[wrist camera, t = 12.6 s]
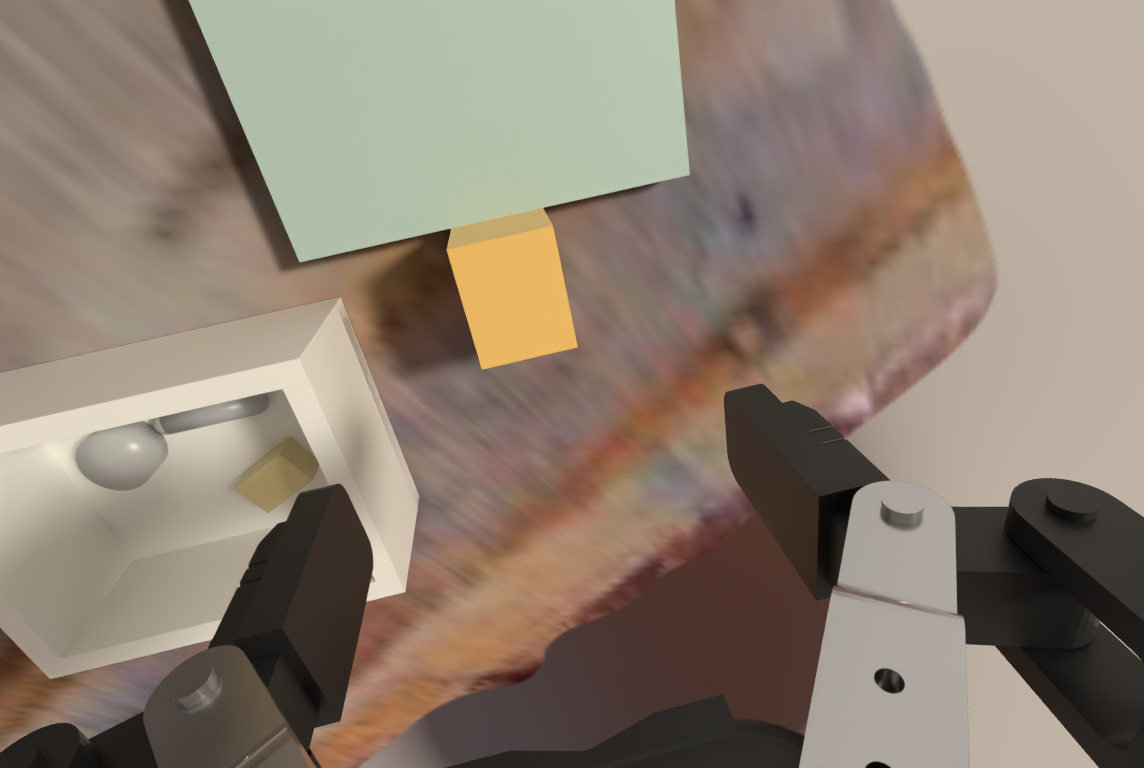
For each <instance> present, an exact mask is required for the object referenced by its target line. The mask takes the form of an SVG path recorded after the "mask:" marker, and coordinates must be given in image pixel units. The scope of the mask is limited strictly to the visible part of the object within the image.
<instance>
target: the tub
mask: <svg viewBox="0 0 1144 768" xmlns="http://www.w3.org/2000/svg"><path fill="white" fill-rule="evenodd" d="M338 483H339V484H341V485H342V486H343V487H344V488H345V489H346V491H347V493H348V495H349V497H350V499H351V502H352V504H353V506H354V508H355V510H356V512H357V514H358V517H359V519H360V521H361V523H362V525H363V527H364V529H365V531H366V534H367V536H368V538H369V540H370V543H371V547H372V552H373V572H372V577H371V582H370V586H369V591H368V595H367V600H366V601H370V600H374V599H378V598H383V597H387V596H391V595H395V594H399V593H403V592H405V589H406V583H407V576H408V569H409V563H410V556H411V549H412V543H413V536H414V529H415V523H416V516H417V509H418V503H419V494H418V492H417V489H416V487H415V484H414V482H413V479H412V477H411V474H410V472H409V469H408V467H407V464H406V462H405V459H404V456H403V454H402V451H401V449H400V446H399V444H398V441H397V439H396V436H395V434H394V431H393V429H392V426H391V424H390V421H389V419H388V416H387V413H386V411H385V408H384V406H383V403H382V401H381V398H380V396H379V393H378V391H377V388H376V386H375V383H374V381H373V378H372V376H371V373H370V370H369V368H368V365H367V363H366V360H365V358H364V355H363V353H362V350H361V348H360V345H359V343H358V340H357V338H356V335H355V333H354V330H353V327H352V325H351V322H350V320H349V317H348V315H347V312H346V310H345V307H344V305H343V302H342V300H341V297H339V298H334V299H330V300H326V301H321V302H317V303H312V304H308V305H303V306H299V307H294V308H290V309H285V310H281V311H276V312H272V313H267V314H263V315H258V316H254V317H249V318H245V319H240V320H236V321H231V322H227V323H222V324H218V325H213V326H209V327H204V328H200V329H195V330H191V331H186V332H182V333H177V334H173V335H169V336H164V337H160V338H155V339H151V340H146V341H142V342H137V343H133V344H128V345H124V346H119V347H115V348H110V349H106V350H101V351H97V352H92V353H88V354H83V355H79V356H74V357H70V358H65V359H61V360H56V361H52V362H47V363H43V364H38V365H34V366H29V367H25V368H21V369H16V370H12V371H7V372H3V373H0V628H1V629H2V630H3V631H4V632H5V633H6V634H7V635H8V636H9V637H10V638H11V639H12V640H13V641H14V642H15V643H16V644H17V646H18V647H19V648H20V649H21V650H22V651H23V652H24V653H25V654H26V655H27V656H28V657H29V658H30V659H31V660H32V661H33V662H34V663H35V664H36V665H37V666H38V667H39V668H40V669H41V670H42V671H43V672H44V673H45V674H46V675H47V676H48V678H49V679H53V678H57V677H61V676H65V675H69V674H73V673H77V672H81V671H85V670H89V669H93V668H97V667H102V666H106V665H110V664H114V663H118V662H122V661H126V660H130V659H134V658H138V657H142V656H146V655H150V654H154V653H159V652H163V651H167V650H171V649H175V648H179V647H183V646H187V645H191V644H195V643H199V642H203V641H207V640H211V639H213V637H214V635H215V633H216V631H217V628H218V626H219V624H220V622H221V620H222V618H223V616H224V614H225V612H226V610H227V608H228V606H229V604H230V602H231V600H232V597H233V595H234V593H235V591H236V589H237V587H240V581H241V579H242V577H243V575H244V573H245V571H246V569H249V567H248V564H249V562H250V560H251V558H252V556H253V554H254V552H255V550H256V548H257V546H258V544H259V543H260V542H261V541H262V540H263V538H264V537H265V536H266V535H267V534H268V533H269V532H270V531H271V530H272V529H273V528H274V527H275V526H276V524H277V523H281V522H285V521H287V518H288V516H289V514H290V512H291V509H292V507H293V505H294V503H295V500H296V498H297V496H298V495H299V493H301V492H304V491H308V490H312V489H316V488H321V487H325V486H329V485H333V484H338Z"/></svg>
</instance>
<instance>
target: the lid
mask: <svg viewBox="0 0 1144 768" xmlns="http://www.w3.org/2000/svg"><path fill="white" fill-rule="evenodd" d="M189 2H190V5H191V7H192V9H193V12H194V14H195V16H196V19H197V21H198V24H199V26H200V28H201V31H202V33H203V35H204V38H205V40H206V42H207V45H208V47H209V50H210V52H211V54H212V57H213V59H214V61H215V64H216V66H217V68H218V71H219V73H220V76H221V78H222V80H223V83H224V85H225V87H226V90H227V92H228V94H229V97H230V99H231V102H232V104H233V106H234V109H235V111H236V113H237V116H238V118H239V120H240V123H241V125H242V128H243V130H244V132H245V135H246V137H247V139H248V142H249V144H250V146H251V149H252V151H253V154H254V156H255V158H256V161H257V163H258V165H259V168H260V170H261V172H262V175H263V177H264V180H265V182H266V184H267V187H268V189H269V191H270V194H271V196H272V198H273V201H274V203H275V206H276V208H277V210H278V213H279V215H280V217H281V220H282V222H283V224H284V227H285V229H286V232H287V234H288V236H289V239H290V241H291V243H292V246H293V248H294V250H295V253H296V255H297V258H298V260H299V262H304V261H308V260H313V259H317V258H322V257H326V256H330V255H335V254H339V253H344V252H348V251H353V250H357V249H362V248H366V247H371V246H375V245H380V244H384V243H388V242H393V241H397V240H402V239H406V238H411V237H415V236H420V235H424V234H429V233H433V232H437V231H442V230H446V229H451V232H450V237H449V241H448V246H447V253H448V256H449V260H450V263H451V266H452V270H453V273H454V277H455V280H456V283H457V287H458V290H459V293H460V297H461V300H462V304H463V307H464V310H465V314H466V317H467V320H468V324H469V327H470V331H471V334H472V337H473V341H474V344H475V347H476V351H477V354H478V358H479V361H480V364H481V368H482V369H487V368H491V367H495V366H499V365H504V364H508V363H512V362H516V361H521V360H525V359H529V358H533V357H538V356H542V355H546V354H551V353H555V352H559V351H563V350H568V349H572V348H576V347H577V342H576V337H575V332H574V327H573V322H572V317H571V312H570V307H569V302H568V297H567V293H566V288H565V283H564V278H563V273H562V268H561V263H560V258H559V253H558V248H557V243H556V238H555V233H554V229H553V225H552V223H551V221H550V220H549V218H548V216H547V214H546V212H545V211H544V209H543V208H544V207H549V206H553V205H558V204H562V203H567V202H571V201H576V200H580V199H584V198H589V197H593V196H598V195H602V194H607V193H611V192H616V191H620V190H625V189H629V188H634V187H638V186H642V185H647V184H651V183H656V182H660V181H665V180H669V179H674V178H678V177H683V176H687V175H690V173H689V161H688V150H687V139H686V127H685V116H684V104H683V93H682V82H681V70H680V59H679V47H678V36H677V25H676V13H675V2H674V0H189Z"/></svg>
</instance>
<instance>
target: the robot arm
mask: <svg viewBox="0 0 1144 768" xmlns="http://www.w3.org/2000/svg"><path fill="white" fill-rule="evenodd" d="M724 409H725V424H726V439H727V453H728V459H729V464H730V467H731V470H732V473H733V475H734V477H735V479H736V481H737V483H738V484H739V486H740V487H741V489H742V490H743V492H744V493H745V495H746V496H747V498H748V499H749V501H750V502H751V504H752V505H753V507H754V508H755V510H756V511H757V513H758V514H759V516H760V517H761V519H762V520H763V522H764V523H765V525H766V526H767V528H768V529H769V531H770V532H771V534H772V535H773V537H774V538H775V540H776V541H777V543H778V544H779V546H780V547H781V549H782V550H783V552H784V553H785V555H786V556H787V558H788V559H789V561H790V562H791V564H792V565H793V567H794V568H795V570H796V571H797V573H798V574H799V576H800V577H801V578H802V580H803V582H804V583H805V585H806V586H807V588H808V589H809V591H810V592H811V594H812V595H813V597H814V598H815V600H821V599H825V598H828V597H831V599H830V604H829V610H828V615H827V620H826V626H825V631H824V636H823V642H822V647H821V653H820V658H819V663H818V669H817V674H816V680H815V685H814V690H813V695H812V701H811V706H810V711H809V717H808V722H807V727H806V733H805V735H803V734H802V733H799V732H797V731H794V730H792V729H789V728H787V727H784V726H781V725H778V724H774V723H770V722H766V721H763V720H756V719H749V718H732V715H731V713H730V710H729V708H728V705H727V703H726V701H725V698H724V696H723V695H720V696H716V697H712V698H708V699H705V700H701V701H697V702H693V703H689V704H686V705H682V706H678V707H674V708H670V709H667V710H663V711H659V712H655V713H653V714H651V715H650V716H648V717H646V718H644V719H643V720H641V721H639V722H637V723H636V724H634V725H632V726H630V727H629V728H627V729H625V730H623V731H622V732H620V733H618V734H617V735H615V736H613V737H611V738H609V739H608V740H606V741H604V742H602V743H601V744H599V745H597V746H595V747H594V748H591V749H589V750H586V751H579V752H577V751H573V752H572V751H507V752H503V753H500V754H496V755H492V756H489V757H484V758H481V759H477V760H473V761H469V762H465V763H462V764H458V765H454V766H450V767H447V768H970V760H969V730H968V729H969V728H968V701H967V700H968V699H967V670H966V644H974V645H975V644H976V645H993V646H996V648H997V649H998V650H999V651H1000V652H1001V653H1002V655H1003V656H1004V657H1005V658H1006V659H1007V660H1008V662H1009V663H1010V664H1011V665H1012V666H1013V667H1014V669H1016V671H1017V672H1018V673H1019V674H1020V676H1021V677H1022V678H1023V679H1024V680H1025V681H1026V683H1027V684H1028V685H1029V686H1030V687H1031V689H1032V690H1033V691H1034V692H1035V693H1036V694H1037V695H1038V697H1039V698H1040V699H1041V700H1042V701H1043V703H1044V704H1045V705H1046V706H1047V707H1048V708H1049V709H1050V711H1051V712H1052V713H1053V714H1054V715H1055V717H1056V718H1057V719H1058V720H1059V721H1060V722H1061V724H1062V725H1063V726H1064V727H1065V728H1066V730H1067V731H1068V732H1069V733H1070V734H1071V735H1072V737H1073V738H1074V739H1075V740H1076V741H1077V742H1078V744H1079V745H1080V746H1081V747H1082V748H1083V749H1084V751H1085V752H1086V753H1087V754H1088V755H1089V756H1090V758H1091V759H1092V760H1093V761H1094V762H1095V763H1096V765H1097V766H1098V767H1099V768H1144V517H1142V516H1141V515H1140V514H1138V513H1137V512H1135V511H1134V510H1132V509H1131V508H1129V507H1128V506H1126V505H1125V504H1124V503H1122V502H1121V501H1119V500H1118V499H1116V498H1115V497H1113V496H1111V495H1110V494H1108V493H1106V492H1104V491H1102V490H1100V489H1097V488H1095V487H1092V486H1089V485H1086V484H1082V483H1079V482H1075V481H1070V480H1064V479H1053V478H1041V479H1033V480H1029V481H1025V482H1023V483H1021V484H1019V485H1018V486H1017V487H1015V489H1014V490H1013V491H1012V494H1011V498H1010V502H1009V507H952V506H950V505H949V504H948V503H947V501H946V500H944V499H943V498H942V497H941V496H940V495H938V494H936V493H935V492H933V491H931V490H929V489H927V488H925V487H922V486H919V485H916V484H913V483H908V482H902V481H890V480H889V479H888V478H887V477H886V476H885V475H884V474H883V473H882V472H881V471H880V470H879V469H877V467H875V466H874V465H873V464H872V463H871V462H870V461H869V460H868V459H867V458H866V457H865V456H864V455H863V454H862V453H860V451H858V450H857V449H856V448H855V447H854V446H853V445H852V444H851V443H850V442H849V441H848V440H844V436H842V435H841V434H840V433H839V432H838V431H837V430H836V429H835V428H832V427H831V424H830V423H829V422H828V421H826V420H825V419H824V418H823V417H822V416H821V415H820V414H819V413H818V412H817V411H816V410H814V409H811V408H809V407H807V406H804V405H802V404H800V403H798V402H795V401H789V402H784V403H782V402H781V401H780V400H779V399H778V398H777V397H776V396H775V395H774V394H773V393H772V392H771V391H770V390H769V389H768V388H767V387H766V386H765V385H763V384H757V385H753V386H749V387H744V388H740V389H736V390H732V391H728V392H726V393H725V396H724ZM248 567H249V569H246V571H245V573H244V575H243V577H242V579H241V581H240V587H237V589H236V591H235V593H234V595H233V597H232V600H231V602H230V604H229V606H228V608H227V610H226V612H225V614H224V616H223V618H222V620H221V622H220V624H219V626H218V628H217V631H216V633H215V635H214V637H213V639H212V641H211V643H210V645H209V647H208V649H207V650H204V651H202V652H200V653H198V654H196V655H194V656H192V657H191V658H189V659H187V660H186V661H184V662H183V663H181V664H180V665H179V666H177V667H176V668H175V669H174V670H173V671H172V672H170V673H169V674H168V675H167V676H166V677H165V678H164V679H163V680H162V681H161V683H160V684H159V685H158V686H157V687H156V689H155V690H154V692H153V693H152V695H151V696H150V698H149V700H148V702H147V704H146V707H145V710H144V712H142V713H140V714H138V715H136V716H134V717H132V718H130V719H128V720H126V721H124V722H122V723H120V724H118V725H116V726H114V727H112V728H110V729H108V730H106V731H104V732H102V733H100V734H98V735H96V736H94V737H92V738H90V739H88V738H87V737H86V736H85V735H84V734H83V733H82V732H81V731H80V730H79V729H78V728H77V727H76V726H74V725H72V724H69V723H57V724H52V725H49V726H46V727H43V728H40V729H38V730H36V731H34V732H32V733H30V734H28V735H26V736H24V737H23V738H21V739H19V740H18V741H16V742H15V743H13V744H12V745H10V746H9V747H7V748H6V749H5V750H3V751H2V752H1V753H0V768H323V767H322V765H321V764H320V762H319V760H318V759H317V757H316V756H315V754H314V753H313V751H312V750H311V748H310V747H309V746H310V743H311V739H312V735H313V731H314V728H316V727H320V726H323V725H327V724H331V723H335V722H339V721H340V720H341V715H342V711H343V706H344V702H345V697H346V692H347V688H348V683H349V679H350V674H351V669H352V665H353V660H354V655H355V651H356V646H357V642H358V637H359V632H360V628H361V623H362V619H363V614H364V609H365V605H366V600H367V595H368V591H369V586H370V582H371V577H372V572H373V552H372V547H371V543H370V540H369V538H368V536H367V534H366V531H365V529H364V527H363V525H362V523H361V521H360V519H359V517H358V514H357V512H356V510H355V508H354V506H353V504H352V502H351V499H350V497H349V495H348V493H347V491H346V489H345V488H344V487H343V486H342V485H341V484H339V483H338V484H333V485H329V486H325V487H321V488H316V489H312V490H308V491H304V492H301V493H299V495H298V496H297V498H296V500H295V503H294V505H293V507H292V509H291V512H290V514H289V516H288V518H287V521H285V522H281V523H277V524H276V526H275V527H274V528H273V529H272V530H271V531H270V532H269V533H268V534H267V535H266V536H265V537H264V538H263V540H262V541H261V542H260V543H259V544H258V546H257V548H256V550H255V552H254V554H253V556H252V558H251V560H250V562H249V564H248ZM1100 621H1101V622H1102V623H1103V624H1104V625H1105V626H1106V627H1107V628H1108V629H1110V630H1111V631H1112V632H1113V633H1114V634H1115V635H1116V636H1117V637H1118V638H1119V639H1121V640H1122V641H1123V642H1124V643H1125V644H1126V645H1127V646H1128V647H1129V648H1130V649H1131V650H1132V651H1134V653H1136V655H1137V656H1138V657H1139V658H1140V659H1141V660H1142V661H1141V660H1140V659H1139V658H1138V657H1137V656H1136V655H1134V654H1133V653H1132V652H1131V651H1130V650H1129V649H1128V648H1127V647H1126V646H1125V645H1124V644H1123V643H1121V642H1120V641H1119V640H1118V639H1117V638H1116V637H1115V636H1114V635H1113V634H1112V633H1111V632H1109V631H1108V630H1107V629H1106V628H1105V627H1104V626H1103V625H1102V624H1101V623H1100Z"/></svg>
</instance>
